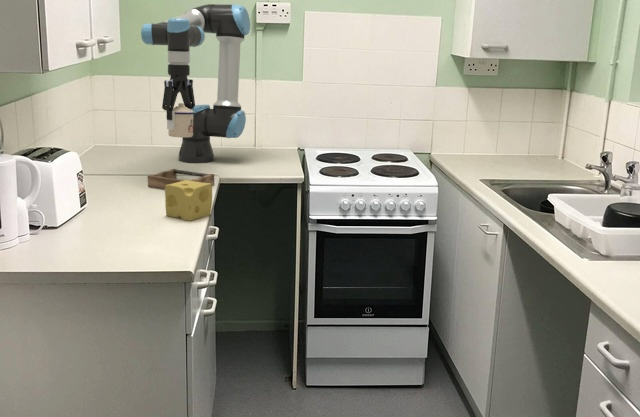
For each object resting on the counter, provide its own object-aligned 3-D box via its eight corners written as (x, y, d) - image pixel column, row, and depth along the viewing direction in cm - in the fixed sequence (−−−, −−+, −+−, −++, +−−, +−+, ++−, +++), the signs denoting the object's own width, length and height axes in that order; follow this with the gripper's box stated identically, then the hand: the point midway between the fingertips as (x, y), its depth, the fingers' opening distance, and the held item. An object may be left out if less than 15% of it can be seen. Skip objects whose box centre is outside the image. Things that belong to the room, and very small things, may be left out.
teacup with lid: (194, 138, 247) (194, 104, 244) (167, 137, 245) (168, 103, 242) (192, 134, 258) (193, 102, 256) (167, 133, 256) (168, 101, 254)
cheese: (190, 221, 208) (189, 189, 206) (163, 215, 214) (162, 184, 211) (213, 214, 217) (212, 183, 215) (187, 209, 223) (186, 178, 220)
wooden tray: (173, 179, 262) (173, 168, 261) (214, 184, 255) (214, 174, 254) (147, 187, 249) (147, 176, 248) (190, 193, 242) (190, 182, 241)
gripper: (188, 62, 256) (188, 124, 261) (150, 63, 237) (151, 130, 242) (205, 63, 253) (205, 126, 258) (168, 64, 234) (169, 132, 239)
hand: (179, 127), depth 250 cm, fingers closed on teacup with lid, 9 cm apart
